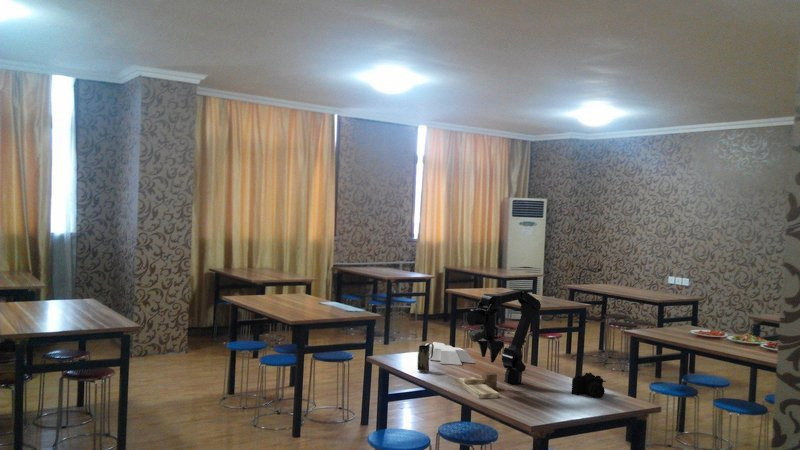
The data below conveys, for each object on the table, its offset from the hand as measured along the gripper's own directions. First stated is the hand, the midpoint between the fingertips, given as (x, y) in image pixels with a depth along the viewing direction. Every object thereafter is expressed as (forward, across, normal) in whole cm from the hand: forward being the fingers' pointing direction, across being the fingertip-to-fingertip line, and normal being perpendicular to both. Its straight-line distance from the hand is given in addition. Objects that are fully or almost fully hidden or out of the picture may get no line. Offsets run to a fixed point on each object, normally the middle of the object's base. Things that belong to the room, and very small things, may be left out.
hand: (487, 359), depth 273 cm
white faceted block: (+13, -55, 0) cm, 57 cm away
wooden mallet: (+12, +1, +1) cm, 12 cm away
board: (+12, +4, -7) cm, 14 cm away
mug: (+12, -31, -18) cm, 38 cm away
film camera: (+13, +18, +40) cm, 45 cm away
